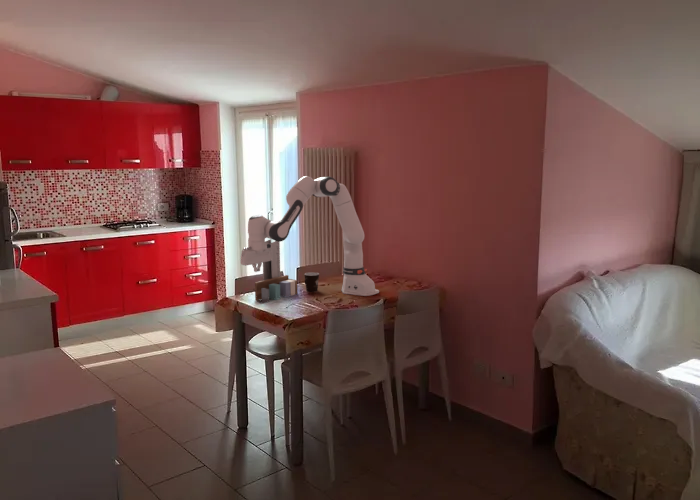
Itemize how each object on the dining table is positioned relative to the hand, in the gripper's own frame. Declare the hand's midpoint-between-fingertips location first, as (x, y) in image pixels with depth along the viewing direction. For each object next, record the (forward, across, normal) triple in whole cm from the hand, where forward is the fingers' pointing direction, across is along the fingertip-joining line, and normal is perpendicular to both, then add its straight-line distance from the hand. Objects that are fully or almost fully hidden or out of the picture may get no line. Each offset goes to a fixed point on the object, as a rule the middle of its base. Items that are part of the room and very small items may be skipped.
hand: (257, 271), depth 318 cm
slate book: (+17, +21, 0) cm, 27 cm away
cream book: (+17, +25, 0) cm, 30 cm away
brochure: (+18, +23, +12) cm, 31 cm away
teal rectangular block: (+17, +13, 0) cm, 22 cm away
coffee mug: (+17, +38, -4) cm, 42 cm away
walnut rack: (+17, +16, +2) cm, 24 cm away
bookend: (+17, +4, 0) cm, 18 cm away
